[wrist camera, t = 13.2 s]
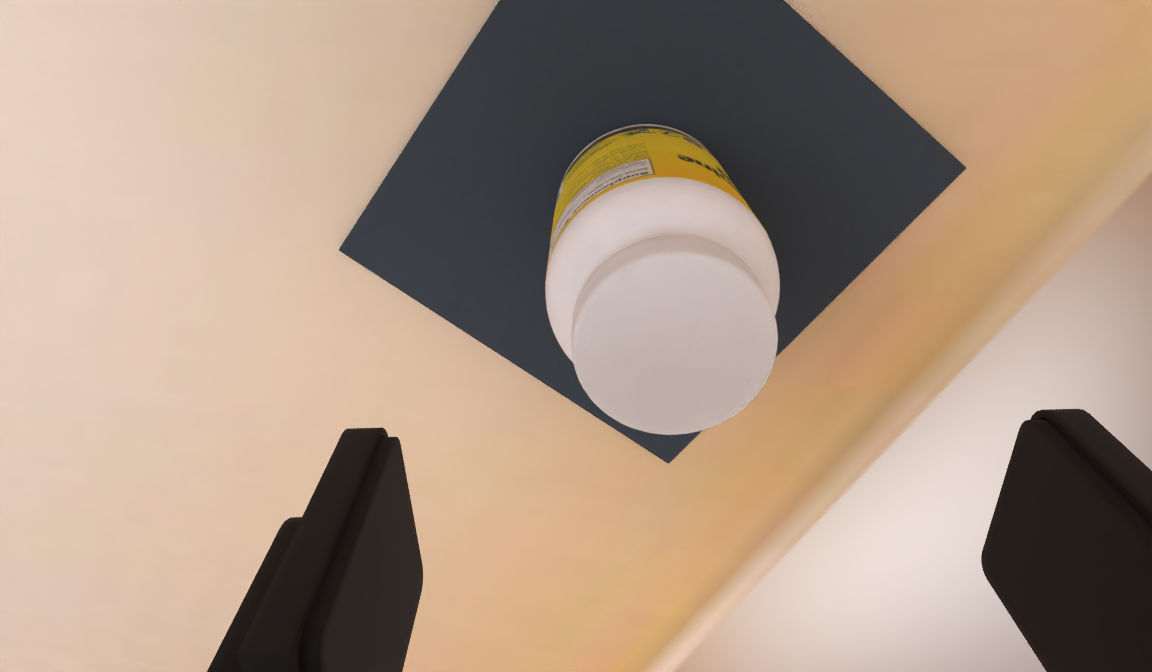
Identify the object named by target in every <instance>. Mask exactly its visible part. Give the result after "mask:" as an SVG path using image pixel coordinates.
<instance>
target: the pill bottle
mask: <svg viewBox="0 0 1152 672" xmlns="http://www.w3.org/2000/svg"><path fill="white" fill-rule="evenodd" d="M545 294H546V306H547V312H548V317H549V320H550V324H551V327H552V329H553V332H554V334H555V337H556V339H557V340H558V342H559V344H560V346H561V348H562V349H563V351H564V352H565V354H566V355H567V356H568V358H569V359H570V360H571V361H572V362H573V363H574V367H575V371H576V374H577V376H578V379H579V381H580V383H581V385H582V387H583V389H584V390H585V392H586V393H587V395H588V396H589V397H590V399H591V400H592V401H593V402H594V403H595V404H596V405H597V406H598V407H599V408H600V409H601V410H602V411H603V412H604V413H606V414H607V415H608V416H610V417H611V418H613V419H615V420H616V421H618V422H620V423H621V424H624V425H626V426H628V427H631V428H634V429H637V430H641V431H644V432H648V433H654V434H663V435H677V434H688V433H693V432H698V431H701V430H705V429H708V428H711V427H713V426H715V425H718V424H720V423H722V422H724V421H726V420H728V419H729V418H731V417H733V416H734V415H736V414H737V413H738V412H740V411H741V410H742V409H743V408H745V407H746V406H747V405H748V404H749V403H750V402H751V401H752V400H753V399H754V398H755V397H756V395H757V394H758V393H759V391H760V390H761V389H762V387H763V386H764V384H765V383H766V381H767V379H768V377H769V375H770V372H771V370H772V367H773V365H774V362H775V357H776V352H777V343H778V333H777V323H776V319H775V314H776V311H777V307H778V302H779V294H780V279H779V270H778V264H777V259H776V256H775V252H774V249H773V247H772V244H771V240H770V238H769V237H768V234H767V232H766V230H765V229H764V228H763V226H762V225H761V223H760V222H759V220H758V219H757V217H756V216H755V214H754V213H753V212H752V210H751V209H750V208H749V206H748V204H747V203H746V201H745V200H744V199H743V197H742V196H741V194H740V193H739V191H738V190H737V189H736V187H735V186H734V184H733V183H732V181H731V180H730V178H729V177H728V175H727V174H726V172H725V171H724V169H723V168H722V167H721V165H720V164H719V162H718V161H717V159H716V158H715V157H714V156H713V155H712V154H711V152H710V151H709V150H708V149H707V148H706V147H705V146H704V145H703V144H701V143H700V142H699V141H698V140H696V139H695V138H693V137H691V136H690V135H688V134H686V133H684V132H682V131H679V130H677V129H674V128H671V127H667V126H662V125H655V124H638V125H631V126H627V127H623V128H619V129H616V130H613V131H611V132H609V133H606V134H604V135H602V136H601V137H599V138H597V139H596V140H594V141H593V142H591V143H590V144H589V145H588V146H586V147H585V148H584V149H583V150H582V151H581V152H580V153H579V154H578V155H577V157H576V158H575V159H574V160H573V162H572V163H571V164H570V166H569V168H568V169H567V171H566V173H565V175H564V177H563V179H562V182H561V185H560V188H559V191H558V195H557V200H556V206H555V213H554V219H553V226H552V233H551V241H550V250H549V257H548V265H547V273H546V282H545Z"/></svg>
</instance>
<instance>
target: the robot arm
mask: <svg viewBox="0 0 1152 672" xmlns="http://www.w3.org/2000/svg"><path fill="white" fill-rule="evenodd" d="M982 567H983V571H984V574H985V576H986V578H987V580H988V581H989V583H990V584H991V586H992V588H993V589H994V591H995V592H996V594H997V595H998V597H999V598H1000V600H1001V601H1002V603H1003V605H1004V606H1005V608H1006V609H1007V611H1008V612H1009V614H1010V615H1011V617H1012V619H1013V620H1014V622H1015V623H1016V625H1017V626H1018V628H1019V629H1020V631H1021V632H1022V634H1023V636H1024V637H1025V639H1026V640H1027V642H1028V643H1029V645H1030V647H1031V648H1032V650H1033V651H1034V653H1035V654H1036V656H1037V657H1038V659H1039V660H1040V662H1041V663H1042V665H1043V667H1044V668H1045V670H1046V671H1047V672H1152V471H1151V470H1150V469H1149V468H1148V467H1147V466H1145V464H1143V463H1142V462H1141V461H1140V460H1139V459H1138V458H1137V457H1136V456H1135V455H1133V453H1131V452H1130V451H1129V450H1128V449H1127V448H1126V447H1125V446H1124V445H1123V444H1122V443H1121V442H1120V441H1118V440H1117V439H1116V438H1115V437H1114V436H1113V435H1112V434H1111V433H1110V432H1108V431H1107V430H1106V429H1105V428H1104V427H1103V426H1102V425H1101V424H1100V423H1099V422H1098V421H1097V420H1096V419H1095V418H1093V417H1092V416H1091V415H1090V414H1089V413H1087V412H1086V411H1084V410H1081V409H1059V410H1058V409H1057V410H1040V411H1037V412H1036V413H1035V414H1034V415H1033V416H1032V417H1031V420H1027V421H1024V422H1023V424H1022V425H1021V427H1020V429H1019V432H1018V436H1017V439H1016V442H1015V445H1014V449H1013V452H1012V456H1011V459H1010V462H1009V465H1008V468H1007V472H1006V475H1005V478H1004V482H1003V485H1002V488H1001V491H1000V495H999V498H998V502H997V505H996V508H995V512H994V515H993V518H992V521H991V524H990V528H989V531H988V534H987V538H986V541H985V545H984V547H983V551H982ZM422 584H423V567H422V561H421V555H420V550H419V544H418V539H417V533H416V528H415V522H414V516H413V511H412V505H411V500H410V494H409V489H408V483H407V478H406V472H405V466H404V461H403V455H402V450H401V445H400V441H399V439H398V438H397V437H388V435H387V432H386V430H385V429H384V428H357V429H346V430H345V431H344V432H343V433H342V435H341V437H340V439H339V442H338V444H337V446H336V448H335V450H334V452H333V454H332V456H331V458H330V460H329V462H328V465H327V467H326V469H325V471H324V473H323V475H322V477H321V479H320V481H319V483H318V485H317V487H316V490H315V492H314V494H313V496H312V498H311V500H310V502H309V504H308V506H307V508H306V510H305V513H304V515H303V517H293V518H289V519H288V520H286V521H285V522H284V523H283V525H282V526H281V528H280V529H279V531H278V533H277V535H276V537H275V539H274V541H273V543H272V545H271V547H270V549H269V551H268V553H267V555H266V557H265V559H264V561H263V563H262V565H261V567H260V569H259V570H258V572H257V574H256V576H255V578H254V580H253V582H252V584H251V586H250V588H249V590H248V592H247V594H246V596H245V598H244V600H243V602H242V604H241V606H240V608H239V610H238V612H237V614H236V616H235V618H234V620H233V622H232V624H231V626H230V628H229V630H228V631H227V633H226V635H225V637H224V639H223V641H222V643H221V645H220V647H219V649H218V651H217V653H216V655H215V657H214V659H213V661H212V663H211V665H210V667H209V669H208V671H207V672H402V670H403V666H404V662H405V658H406V654H407V649H408V645H409V641H410V637H411V633H412V629H413V625H414V620H415V616H416V612H417V608H418V604H419V600H420V595H421V591H422Z"/></svg>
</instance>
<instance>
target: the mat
mask: <svg viewBox="0 0 1152 672" xmlns="http://www.w3.org/2000/svg"><path fill="white" fill-rule="evenodd" d="M638 124H655V125H662V126H667V127H671V128H674V129H677V130H679V131H682V132H684V133H686V134H688V135H690V136H691V137H693V138H695V139H696V140H698V141H699V142H700V143H701V144H703V145H704V146H705V147H706V148H707V149H708V150H709V151H710V152H711V154H712V155H713V156H714V157H715V158H716V159H717V161H718V162H719V164H720V165H721V167H722V168H723V169H724V171H725V172H726V174H727V175H728V177H729V178H730V180H731V181H732V183H733V184H734V186H735V187H736V189H737V190H738V191H739V193H740V194H741V196H742V197H743V199H744V200H745V201H746V203H747V204H748V206H749V208H750V209H751V210H752V212H753V213H754V214H755V216H756V217H757V219H758V220H759V222H760V223H761V225H762V226H763V228H764V229H765V230H766V232H767V234H768V237H769V238H770V240H771V244H772V247H773V249H774V252H775V256H776V259H777V264H778V270H779V279H780V294H779V302H778V307H777V311H776V314H775V319H776V323H777V333H778V343H777V352H776V356H777V355H778V354H779V353H780V352H781V351H782V350H783V349H784V348H785V347H786V346H787V345H789V344H790V343H791V342H792V341H793V340H794V339H795V338H796V337H797V336H798V335H799V334H800V333H801V332H802V331H803V330H804V329H805V328H806V327H807V326H808V325H809V324H810V323H811V322H812V321H813V320H814V319H815V318H816V317H817V316H818V315H819V314H820V313H821V312H822V311H823V310H824V309H825V308H826V307H827V306H828V305H829V304H830V303H831V302H832V301H833V300H834V299H835V298H836V297H837V296H838V295H839V294H840V293H841V292H842V291H843V290H844V289H845V288H846V287H847V286H848V285H849V284H850V283H851V282H852V281H853V280H854V279H855V278H856V277H857V276H858V275H859V274H860V273H861V272H862V271H863V270H864V269H865V268H866V267H867V266H868V265H869V264H870V263H871V262H872V261H873V260H874V259H875V258H876V257H877V256H878V255H879V254H880V253H881V252H882V251H883V250H884V249H885V248H886V247H887V246H888V245H889V244H890V243H891V242H892V241H893V240H894V239H895V238H896V237H897V236H898V235H899V234H900V233H901V232H902V231H903V230H904V229H905V228H906V227H907V226H908V225H909V224H910V223H911V222H912V221H913V220H914V219H915V218H916V217H917V216H918V215H919V214H920V213H921V212H922V211H923V210H924V209H925V208H926V207H927V206H928V205H929V204H930V203H931V202H932V201H933V200H934V199H935V198H936V197H937V196H938V195H939V194H940V193H941V192H942V191H944V190H945V189H946V188H947V187H948V186H949V185H950V184H951V183H952V182H953V181H954V180H955V179H956V178H957V177H958V176H959V175H960V174H961V173H962V172H963V171H964V170H965V169H966V167H965V166H964V165H963V164H961V163H960V162H959V161H958V160H957V159H956V158H955V157H954V156H953V155H952V154H951V153H949V152H948V151H947V150H946V149H945V148H944V147H943V146H942V145H941V144H940V143H939V142H937V141H936V140H935V139H934V138H933V137H932V136H931V135H930V134H929V133H928V132H927V131H925V130H924V129H923V128H922V127H921V126H920V125H919V124H918V123H917V122H916V121H915V120H913V119H912V118H911V117H910V116H909V115H908V114H907V113H906V112H905V111H904V110H903V109H901V108H900V107H899V106H898V105H897V104H896V103H895V102H894V101H893V100H892V99H891V98H889V97H888V96H887V95H886V94H885V93H884V92H883V91H882V90H881V89H880V88H879V87H877V86H876V85H875V84H874V83H873V82H872V81H871V80H870V79H869V78H868V77H867V76H865V75H864V74H863V73H862V72H861V71H860V70H859V69H858V68H857V67H856V66H855V65H853V64H852V63H851V62H850V61H849V60H848V59H847V58H846V57H845V56H844V55H843V54H841V53H840V52H839V51H838V50H837V49H836V48H835V47H834V46H833V45H832V44H831V43H829V42H828V41H827V40H826V39H825V38H824V37H823V36H822V35H821V34H820V33H819V32H817V31H816V30H815V29H814V28H813V27H812V26H811V25H810V24H809V23H808V22H807V21H805V20H804V19H803V18H802V17H801V16H800V15H799V14H798V13H797V12H796V11H795V10H793V9H792V8H791V7H790V6H789V5H788V4H787V3H786V2H785V1H784V0H500V1H499V2H498V4H497V5H496V7H495V9H494V10H493V12H492V13H491V15H490V16H489V18H488V19H487V21H486V23H485V24H484V26H483V27H482V29H481V30H480V32H479V33H478V35H477V36H476V38H475V40H474V41H473V43H472V44H471V46H470V47H469V49H468V50H467V52H466V54H465V55H464V57H463V58H462V60H461V61H460V63H459V64H458V66H457V67H456V69H455V71H454V72H453V74H452V75H451V77H450V78H449V80H448V81H447V83H446V85H445V86H444V88H443V89H442V91H441V92H440V94H439V95H438V97H437V98H436V100H435V102H434V103H433V105H432V106H431V108H430V109H429V111H428V112H427V114H426V116H425V117H424V119H423V120H422V122H421V123H420V125H419V126H418V128H417V129H416V131H415V133H414V134H413V136H412V137H411V139H410V140H409V142H408V143H407V145H406V147H405V148H404V150H403V151H402V153H401V154H400V156H399V157H398V159H397V161H396V162H395V164H394V165H393V167H392V168H391V170H390V171H389V173H388V174H387V176H386V178H385V179H384V181H383V182H382V184H381V185H380V187H379V188H378V190H377V192H376V193H375V195H374V196H373V198H372V199H371V201H370V202H369V204H368V205H367V207H366V209H365V210H364V212H363V213H362V215H361V216H360V218H359V219H358V221H357V223H356V224H355V226H354V227H353V229H352V230H351V232H350V233H349V235H348V236H347V238H346V240H345V241H344V243H343V244H342V246H341V247H340V249H339V251H341V252H342V253H344V254H345V255H347V256H349V257H350V258H352V259H353V260H355V261H356V262H358V263H359V264H361V265H362V266H364V267H366V268H367V269H369V270H370V271H372V272H373V273H375V274H376V275H378V276H379V277H381V278H383V279H384V280H386V281H387V282H389V283H390V284H392V285H393V286H395V287H396V288H398V289H400V290H401V291H403V292H404V293H406V294H407V295H409V296H410V297H412V298H413V299H415V300H417V301H418V302H420V303H421V304H423V305H424V306H426V307H427V308H429V309H430V310H432V311H434V312H435V313H437V314H438V315H440V316H441V317H443V318H444V319H446V320H447V321H449V322H451V323H452V324H454V325H455V326H457V327H458V328H460V329H461V330H463V331H464V332H466V333H468V334H469V335H471V336H472V337H474V338H475V339H477V340H478V341H480V342H481V343H483V344H485V345H486V346H488V347H489V348H491V349H492V350H494V351H495V352H497V353H498V354H500V355H502V356H503V357H505V358H506V359H508V360H509V361H511V362H512V363H514V364H515V365H517V366H518V367H520V368H522V369H523V370H525V371H526V372H528V373H529V374H531V375H532V376H534V377H535V378H537V379H539V380H540V381H542V382H543V383H545V384H546V385H548V386H549V387H551V388H552V389H554V390H556V391H557V392H559V393H560V394H562V395H563V396H565V397H566V398H568V399H569V400H571V401H573V402H574V403H576V404H577V405H579V406H580V407H582V408H583V409H585V410H586V411H588V412H590V413H591V414H593V415H594V416H596V417H597V418H599V419H600V420H602V421H603V422H605V423H607V424H608V425H610V426H611V427H613V428H614V429H616V430H617V431H619V432H620V433H622V434H624V435H625V436H627V437H628V438H630V439H631V440H633V441H634V442H636V443H637V444H639V445H641V446H642V447H644V448H645V449H647V450H648V451H650V452H651V453H653V454H654V455H656V456H658V457H659V458H661V459H662V460H664V461H665V462H667V463H670V462H671V461H672V460H673V459H674V458H675V457H676V456H677V455H678V454H679V453H680V452H681V451H682V450H683V449H684V448H685V447H686V446H687V445H688V444H689V443H690V442H691V441H692V440H693V439H694V438H695V437H696V436H697V435H698V434H699V433H700V432H701V431H702V430H701V431H698V432H693V433H688V434H677V435H663V434H654V433H648V432H644V431H641V430H637V429H634V428H631V427H628V426H626V425H624V424H621V423H620V422H618V421H616V420H615V419H613V418H611V417H610V416H608V415H607V414H606V413H604V412H603V411H602V410H601V409H600V408H599V407H598V406H597V405H596V404H595V403H594V402H593V401H592V400H591V399H590V397H589V396H588V395H587V393H586V392H585V390H584V389H583V387H582V385H581V383H580V381H579V379H578V376H577V374H576V371H575V367H574V363H573V362H572V361H571V360H570V359H569V358H568V356H567V355H566V354H565V352H564V351H563V349H562V348H561V346H560V344H559V342H558V340H557V339H556V337H555V334H554V332H553V329H552V327H551V324H550V320H549V317H548V312H547V306H546V294H545V282H546V273H547V265H548V257H549V250H550V241H551V233H552V226H553V219H554V213H555V206H556V200H557V195H558V191H559V188H560V185H561V182H562V179H563V177H564V175H565V173H566V171H567V169H568V168H569V166H570V164H571V163H572V162H573V160H574V159H575V158H576V157H577V155H578V154H579V153H580V152H581V151H582V150H583V149H584V148H585V147H586V146H588V145H589V144H590V143H591V142H593V141H594V140H596V139H597V138H599V137H601V136H602V135H604V134H606V133H609V132H611V131H613V130H616V129H619V128H623V127H627V126H631V125H638Z"/></svg>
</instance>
